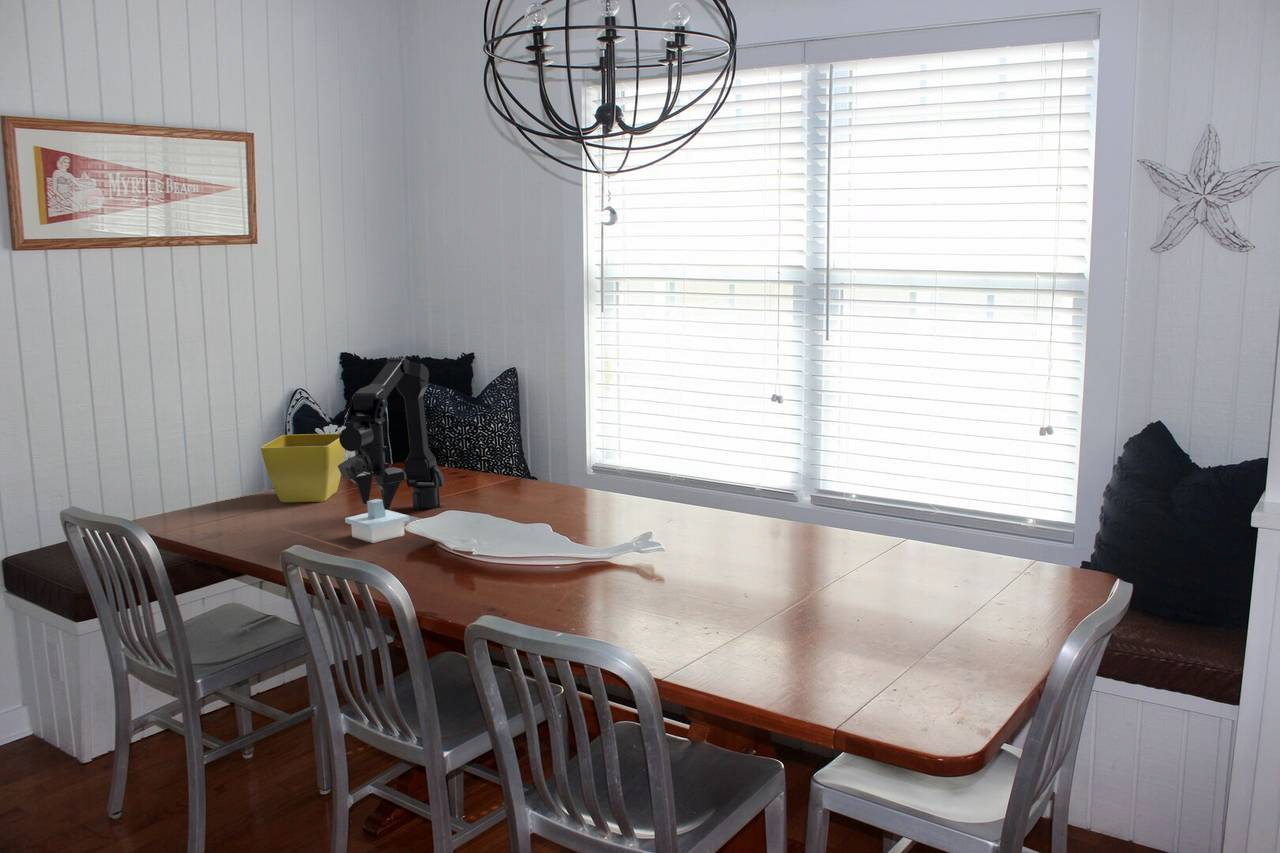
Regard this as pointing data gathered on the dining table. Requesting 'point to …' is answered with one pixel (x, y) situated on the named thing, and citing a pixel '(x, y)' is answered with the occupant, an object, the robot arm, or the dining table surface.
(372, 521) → the lid
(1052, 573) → the dining table surface
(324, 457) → the flower pot
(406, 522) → the mat
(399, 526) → the white open box
